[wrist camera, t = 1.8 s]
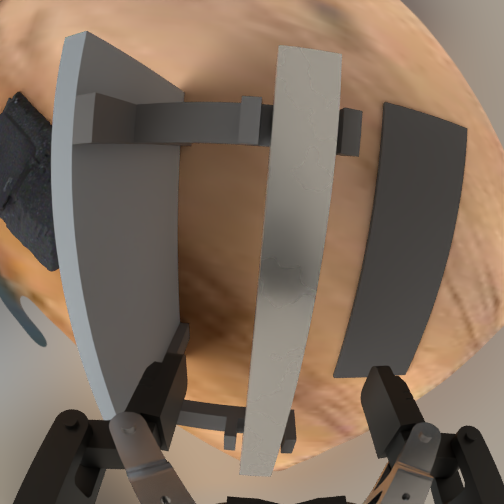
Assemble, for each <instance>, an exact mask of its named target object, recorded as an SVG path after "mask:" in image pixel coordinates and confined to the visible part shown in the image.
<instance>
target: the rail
mask: <svg viewBox="0 0 504 504" xmlns="http://www.w3.org/2000/svg"><path fill="white" fill-rule="evenodd" d="M341 68H342V54H339V53H333V52H328V51H322V50H315V49H309V48H301V47H293V46H284V45H279V47H278V55H277V63H276V73H275V87H274V100H273V112H272V125H271V137H270V150H269V162H268V174H267V186H266V197H265V209H264V221H263V232H262V243H261V254H260V266H259V276H258V287H257V298H256V309H255V319H254V330H253V340H252V351H251V361H250V371H249V381H248V391H247V401H246V411H245V420H244V430H243V440H242V450H241V461H240V473H239V474H240V475H250V476H271V475H272V471H273V468H274V465H275V462H276V458H277V455H278V452H279V448H280V445H281V442H282V438H283V435H284V431H285V427H286V424H287V420H288V416H289V413H290V409H291V405H292V401H293V397H294V393H295V389H296V385H297V381H298V377H299V373H300V369H301V364H302V360H303V355H304V351H305V346H306V342H307V337H308V332H309V328H310V323H311V318H312V313H313V307H314V302H315V297H316V292H317V286H318V280H319V275H320V269H321V263H322V257H323V250H324V244H325V237H326V230H327V223H328V216H329V209H330V201H331V193H332V184H333V176H334V166H335V156H336V146H337V134H338V122H339V108H340V91H341Z"/></svg>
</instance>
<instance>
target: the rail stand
mask: <svg viewBox="0 0 504 504" xmlns="http://www.w3.org/2000/svg"><path fill="white" fill-rule="evenodd" d="M184 93H185V92H183V91H182V90H180V89H179V88H177V87H176V86H175V85H173V84H172V83H170V82H169V81H167V80H166V79H164V78H163V77H161V76H160V75H158V74H157V73H155V72H154V71H152V70H151V69H149V68H148V67H146V66H145V65H143V64H142V63H140V62H138V61H137V60H135V59H134V58H132V57H131V56H129V55H127V54H126V53H124V52H122V51H121V50H119V49H118V48H116V47H114V46H113V45H111V44H109V43H107V42H106V41H104V40H102V39H101V38H99V37H97V36H95V35H94V34H92V33H90V32H88V31H85V32H81V33H78V34H75V35H72V36H68V37H65V41H64V46H63V50H62V55H61V60H60V66H59V72H58V78H57V85H56V93H55V101H54V111H53V124H52V142H51V189H52V208H53V220H54V231H55V240H56V248H57V255H58V262H59V268H60V274H61V280H62V285H63V290H64V295H65V300H66V305H67V309H68V313H69V317H70V322H71V325H72V329H73V333H74V337H75V340H76V344H77V347H78V351H79V354H80V357H81V360H82V363H83V366H84V369H85V372H86V375H87V378H88V381H89V384H90V387H91V389H92V392H93V395H94V397H95V400H96V402H97V405H98V407H99V410H100V412H101V414H102V417H103V419H104V420H111V419H112V418H113V417H114V416H115V415H117V414H119V413H122V412H124V411H125V409H126V407H127V405H128V403H129V401H130V399H131V397H132V395H133V393H134V391H135V389H136V387H137V385H138V383H139V381H140V379H141V378H142V375H143V373H144V371H145V369H146V368H147V367H148V366H149V365H151V364H152V363H153V362H154V361H156V362H161V363H162V362H163V360H164V358H165V356H166V353H167V352H172V353H179V354H184V352H185V349H186V347H187V344H188V341H189V339H190V335H189V324H188V323H181V322H180V312H179V286H178V188H179V163H180V146H191V143H213V144H235V145H251V146H264V147H270V137H271V125H272V112H273V105H265V104H262V97H253V96H242V101H241V103H230V102H184ZM361 126H362V111H360V110H355V109H349V108H343V109H341V110H339V122H338V134H337V146H336V155H341V156H357V157H359V149H360V138H361ZM245 411H246V407H238V406H228V405H219V404H211V403H204V402H197V401H190V400H184V401H183V404H182V408H181V411H180V414H179V417H178V421H177V425H183V426H189V427H195V428H202V429H209V430H217V431H225V434H224V449H225V450H235V444H236V435H237V433H243V430H244V420H245ZM295 443H296V427H295V415H294V410H290V413H289V416H288V420H287V424H286V427H285V431H284V435H283V438H282V442H281V453H292V451H293V448H294V445H295Z"/></svg>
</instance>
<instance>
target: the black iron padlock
mask: <svg viewBox="0 0 504 504" xmlns="http://www.w3.org/2000/svg"><path fill="white" fill-rule="evenodd" d="M51 142H52V125H50V123H49V121H47V120H46V119H45V117H44V116H43V115H41V114H40V113H39V112H38V110H37V109H36V108H34V107H33V106H32V105H31V103H30V102H28V100H27V99H26V97H24V96H23V95H22V94H21V93H20V92H17V93H16V94H15V95H14V96H13V98H12V99H11V98H9V99H8V101H7V104H6V106H5V108H4V110H3V113H1V114H0V218H1V219H3V220H4V222H5V223H6V226H7V228H8V229H9V230H10V232H11V233H12V234H13V235H14V236H15V237H16V238H17V239H18V240H19V241H20V242H21V243H22V244H23V246H25V247H26V248H28V249H29V250H30V251H31V252H32V253H33V255H34V256H35V258H36V259H37V260H38V261H39V262H40V263H41V264H42V265H43V266H45V267H46V268H47V269H48V270H49V271H55V270H57V269H59V262H58V255H57V248H56V240H55V231H54V220H53V208H52V189H51Z"/></svg>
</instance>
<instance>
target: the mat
mask: <svg viewBox="0 0 504 504" xmlns="http://www.w3.org/2000/svg"><path fill="white" fill-rule="evenodd" d="M466 143H467V128H465V127H462V126H459V125H457V124H454V123H452V122H449V121H446V120H443V119H440V118H437V117H435V116H432V115H428V114H425V113H422V112H419V111H416V110H412V109H409V108H406V107H402V106H398V105H395V104H391V103H387V102H384V103H383V119H382V133H381V145H380V155H379V165H378V174H377V182H376V189H375V196H374V203H373V210H372V216H371V222H370V228H369V234H368V239H367V245H366V250H365V255H364V260H363V265H362V269H361V274H360V279H359V283H358V287H357V292H356V296H355V300H354V304H353V308H352V312H351V316H350V320H349V323H348V327H347V331H346V334H345V338H344V341H343V345H342V348H341V352H340V355H339V358H338V361H337V365H336V368H335V371H334V374H333V376H334V378H355V377H368V374H369V372H370V369H371V367H373V366H386V365H388V366H390V368H391V369H392V371H393V373H394V375H405V374H406V372H407V370H408V368H409V366H410V363H411V361H412V359H413V357H414V354H415V352H416V350H417V347H418V345H419V343H420V340H421V338H422V335H423V333H424V330H425V327H426V325H427V322H428V319H429V317H430V314H431V311H432V308H433V305H434V302H435V299H436V296H437V293H438V290H439V287H440V284H441V280H442V277H443V273H444V270H445V266H446V262H447V259H448V255H449V251H450V247H451V243H452V238H453V234H454V229H455V224H456V219H457V214H458V208H459V203H460V197H461V190H462V183H463V175H464V166H465V156H466Z"/></svg>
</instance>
